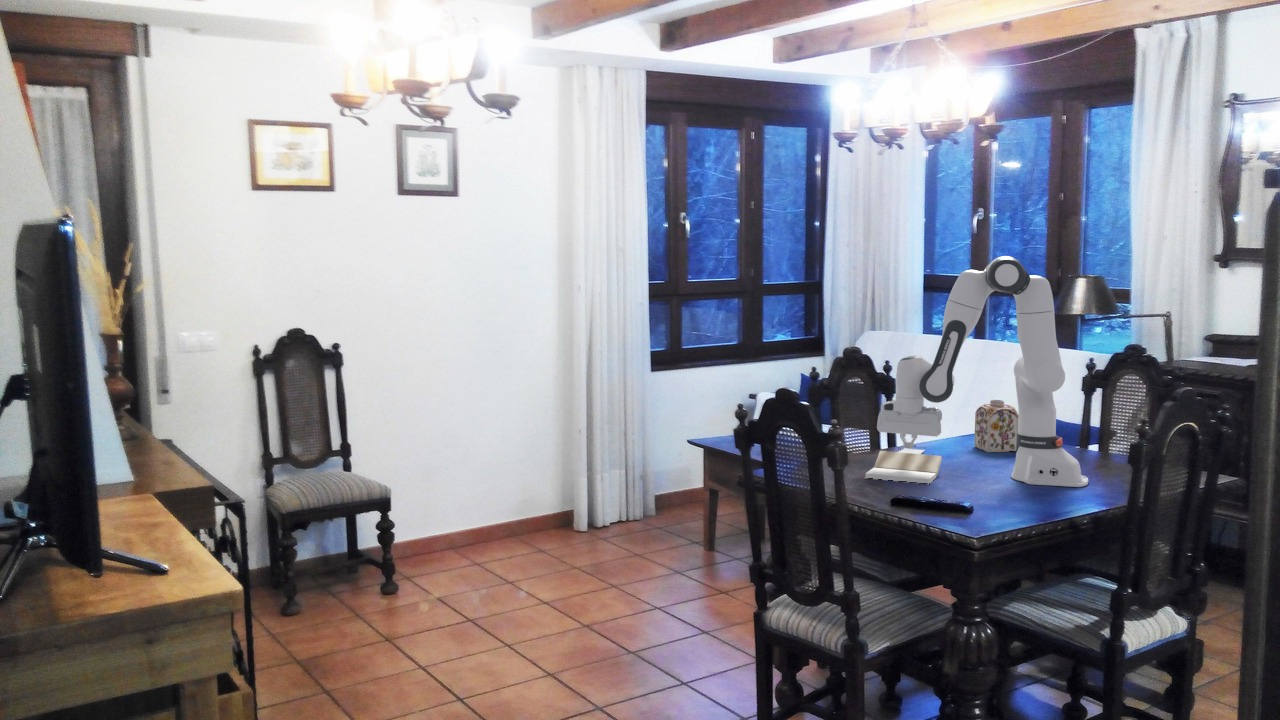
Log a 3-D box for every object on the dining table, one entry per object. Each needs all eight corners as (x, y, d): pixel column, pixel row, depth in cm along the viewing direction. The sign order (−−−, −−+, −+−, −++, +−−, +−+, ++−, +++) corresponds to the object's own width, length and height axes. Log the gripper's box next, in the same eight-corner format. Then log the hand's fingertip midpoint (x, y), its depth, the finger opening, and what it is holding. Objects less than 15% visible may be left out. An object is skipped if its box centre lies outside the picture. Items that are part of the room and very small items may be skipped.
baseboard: (874, 466, 348) (903, 469, 344) (874, 458, 348) (903, 461, 343) (897, 451, 375) (925, 454, 370) (897, 443, 374) (925, 446, 370)
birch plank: (941, 459, 334) (941, 455, 333) (936, 476, 329) (936, 472, 328) (880, 454, 344) (880, 450, 343) (874, 470, 338) (874, 466, 337)
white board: (936, 478, 328) (936, 473, 327) (929, 484, 319) (929, 479, 319) (873, 472, 337) (873, 467, 337) (865, 478, 328) (865, 473, 328)
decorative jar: (973, 447, 379) (974, 398, 377) (1003, 446, 380) (1005, 397, 379) (987, 453, 367) (989, 403, 366) (1019, 452, 369) (1020, 402, 367)
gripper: (944, 406, 332) (943, 448, 334) (881, 402, 342) (880, 443, 343) (940, 409, 327) (938, 452, 328) (876, 404, 336) (875, 446, 338)
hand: (908, 447), depth 336 cm, fingers closed
